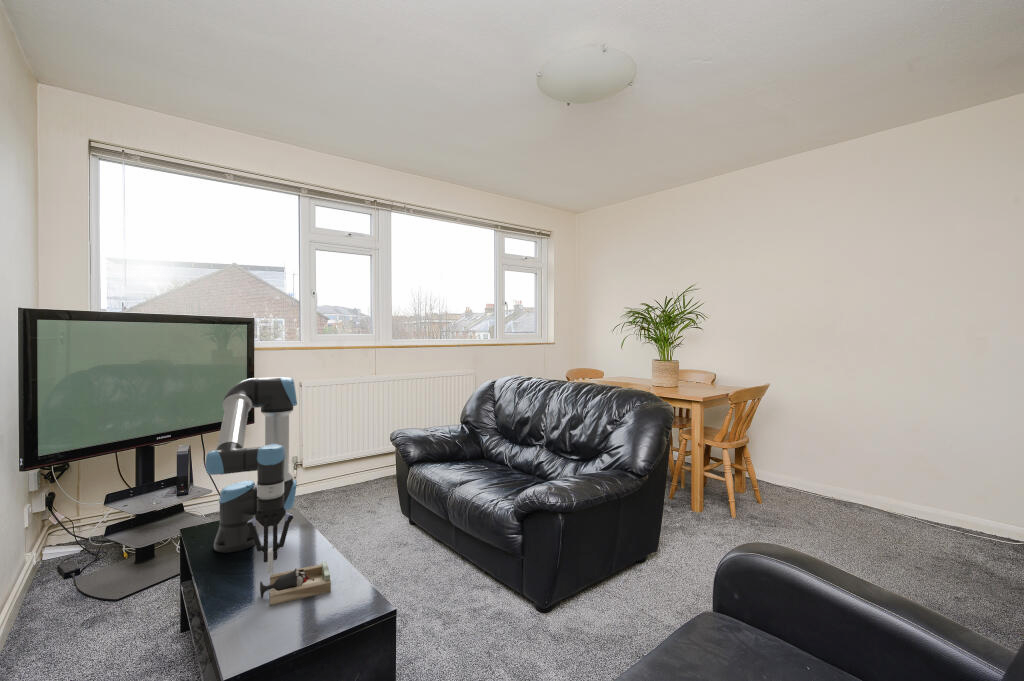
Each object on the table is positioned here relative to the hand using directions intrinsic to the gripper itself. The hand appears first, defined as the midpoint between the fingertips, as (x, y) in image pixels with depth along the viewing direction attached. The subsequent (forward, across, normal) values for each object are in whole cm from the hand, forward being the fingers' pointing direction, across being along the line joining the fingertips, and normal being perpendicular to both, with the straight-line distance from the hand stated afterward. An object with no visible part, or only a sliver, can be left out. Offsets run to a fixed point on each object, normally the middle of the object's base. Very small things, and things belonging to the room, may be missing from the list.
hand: (270, 570), depth 142 cm
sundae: (+5, -3, -1) cm, 6 cm away
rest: (+7, +8, 0) cm, 11 cm away
